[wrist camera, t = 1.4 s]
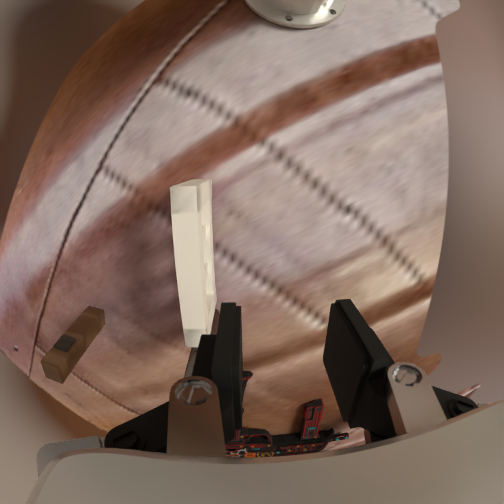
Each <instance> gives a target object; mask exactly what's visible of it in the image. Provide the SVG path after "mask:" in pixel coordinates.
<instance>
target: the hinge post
mask: <svg viewBox="0 0 504 504" xmlns="http://www.w3.org/2000/svg"><path fill="white" fill-rule="evenodd" d="M219 316H220V313H219V311H218V310H217V309H215V312H214V317H213V322H212V327H211V332H210V334H216V335H217V329H218V322H219ZM197 350H198V348H191V352H190V356H189V360H188V364H187V367H186V371H185V375H184V378H185V377H190V376H192V372H193V367H194V363H195V358H196V354H197Z"/></svg>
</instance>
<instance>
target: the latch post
mask: <svg viewBox="0 0 504 504" xmlns="http://www.w3.org/2000/svg"><path fill="white" fill-rule="evenodd" d="M104 325H105V318H104V310H102V309H98V308H94V307H90V306H89V307H88V308H87V309H86V310H85V311H84V312H83V314H82V315H81V316H80V317H79V318H78V319H77V320H76V321H75V322H74V323H73V324H72V326H71V327H70V328H69V329H68V330H67V331H66V332H65V333H64V334H63V335H62V336H61V337H60V339H59V340H58V341H57V342H56V343H55V344H54V346H53V347H52V348H51V350H50V351H49V352H48V353H47V354H46V355H45V357H44V358H43V359H42V360H41V364H42V367H43V370H44V373H45V375H46V377H47V378H49V379H52V380H54V381H57V382H59V383H61V384H63V382H64V381H65V379H66V378H67V376H68V375H69V374H70V372H71V371H72V369H73V368H74V366H75V365H76V363H77V362H78V361H79V359H80V358H81V356H82V355H83V354H84V352H85V351H86V349H87V348H88V347H89V345H90V344H91V343H92V341H93V340H94V339H95V337H96V336H97V334H98V333H99V332H100V330H101V329H102V328H103V326H104Z"/></svg>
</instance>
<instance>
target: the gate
mask: <svg viewBox="0 0 504 504" xmlns="http://www.w3.org/2000/svg"><path fill="white" fill-rule="evenodd" d="M170 198H171V216H172V230H173V243H174V255H175V265H176V275H177V284H178V293H179V301H180V309H181V317H182V324H183V331H184V338H185V344H186V347H191V348H198V346H199V341H200V337H201V335H202V334H210V332H211V327H212V322H213V317H214V312H215V307H216V302H217V301H216V286H215V277H214V257H213V235H212V207H211V198H212V185H211V179H192V180H189V181H186V182H183V183H181V184H178V185H175V186H172V187H170Z"/></svg>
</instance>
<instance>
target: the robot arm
mask: <svg viewBox="0 0 504 504" xmlns="http://www.w3.org/2000/svg"><path fill="white" fill-rule="evenodd" d="M244 1H245V3H246V4H247V6H248V7H249V8H250V9H251V10H252V11H253V12H255V13H256V14H258V15H259V16H260V17H262V18H264V19H266V20H268V21H270V22H273V23H276V24H278V25H282V26H286V27H292V28H315V27H320V26H323V25H326V24H329V23H330V22H332V21H334V20H335V19H336V18H337V17H338V16H339V15H340V14H341V13H342V11H343V10H344V8H345V5H346V0H244ZM287 20H289V21H287ZM323 362H324V366H325V368H326V371H327V374H328V377H329V380H330V383H331V386H332V389H333V392H334V395H335V398H336V400H337V403H338V406H339V409H340V412H341V415H342V418H343V421H345V422H346V421H348V424H349V427H350V429H351V428H356V427H361V428H364V436H365V441H366V444H365V445H360V446H355V447H350V448H344V449H339V450H332V451H326V452H319V453H311V454H302V455H291V456H278V457H256V458H227V454H226V447H225V444H227V443H228V442H230V441H231V440H232V439H234V438H236V430H242V374H243V360H242V322H241V306H236V303H222V304H221V310H220V316H219V322H218V329H217V335H216V334H202V335H201V337H200V341H199V346H198V350H197V354H196V358H195V363H194V367H193V372H192V376H190V377H185V378H182V379H180V380H178V381H177V382H175V383H174V385H173V386H172V387H171V390H170V396H169V401H168V402H166V403H164V404H162V405H160V406H158V407H156V408H154V409H152V410H150V411H148V412H146V413H144V414H142V415H140V416H138V417H136V418H134V419H132V420H130V421H127V422H125V423H123V424H121V425H119V426H117V427H115V428H113V429H112V430H110V431H109V433H108V434H107V435H106V437H104V438H99V437H98V435H97V436H92V437H87V438H82V439H76V440H70V441H64V442H55V443H49V444H46V445H44V446H43V447H41V448H40V450H39V451H38V453H37V468H38V479H37V481H36V483H35V485H34V487H33V489H32V491H31V493H30V495H29V497H28V499H27V502H26V504H504V400H499V401H495V402H492V403H489V404H483V403H478V404H477V405H476V404H475V403H474V402H473V401H472V400H471V399H469V398H467V397H464V396H461V395H458V394H454V393H451V392H448V391H445V390H442V389H439V388H436V387H434V386H431V384H430V382H429V380H428V378H427V376H426V374H425V372H424V371H423V370H422V369H421V368H420V367H419V366H417V365H415V364H413V363H408V362H399V363H394V361H393V360H392V358H391V356H390V355H389V353H388V352H387V350H386V349H385V347H384V346H383V344H382V343H381V341H380V340H379V338H378V337H377V335H376V334H375V332H374V331H373V330H372V329H371V328H370V327H369V326H368V324H367V323H366V321H365V320H364V318H363V317H362V315H361V314H360V312H359V311H358V310H357V308H356V307H355V305H354V304H353V302H352V301H351V300H350V299H342V300H336V302H335V303H332V304H331V308H330V315H329V322H328V329H327V336H326V342H325V348H324V354H323Z"/></svg>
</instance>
